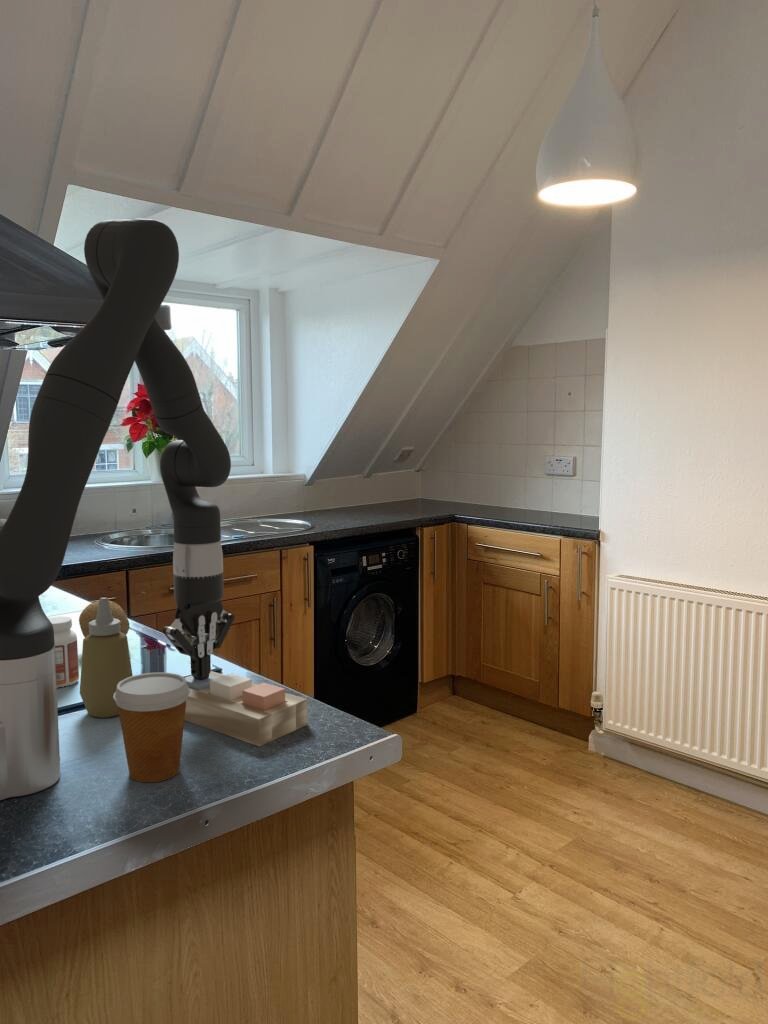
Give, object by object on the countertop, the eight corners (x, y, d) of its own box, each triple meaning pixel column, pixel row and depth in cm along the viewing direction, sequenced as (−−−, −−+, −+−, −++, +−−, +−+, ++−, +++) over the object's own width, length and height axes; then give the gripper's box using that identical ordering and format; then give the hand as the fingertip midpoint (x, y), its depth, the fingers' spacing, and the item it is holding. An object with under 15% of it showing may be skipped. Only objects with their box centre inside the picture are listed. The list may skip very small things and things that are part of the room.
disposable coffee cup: (149, 796, 101) (146, 701, 99) (100, 775, 106) (97, 685, 105) (207, 768, 109) (205, 680, 107) (159, 750, 114) (156, 666, 113)
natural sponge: (120, 641, 166) (118, 592, 165) (137, 651, 159) (135, 601, 158) (74, 649, 161) (72, 598, 160) (89, 660, 154) (87, 608, 153)
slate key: (199, 706, 127) (198, 684, 127) (180, 699, 130) (180, 679, 129) (220, 698, 131) (220, 677, 130) (202, 692, 133) (201, 671, 133)
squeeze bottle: (77, 707, 130) (72, 595, 128) (129, 699, 134) (126, 590, 131) (84, 725, 123) (79, 607, 121) (139, 716, 127) (136, 601, 124)
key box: (259, 746, 116) (258, 719, 115) (158, 711, 129) (158, 686, 128) (307, 724, 124) (307, 699, 123) (208, 693, 137) (207, 670, 136)
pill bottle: (68, 674, 146) (66, 613, 144) (85, 682, 142) (83, 619, 140) (33, 683, 141) (30, 619, 140) (50, 691, 137) (47, 626, 136)
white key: (230, 708, 123) (230, 686, 122) (210, 702, 125) (210, 680, 125) (252, 700, 126) (251, 679, 126) (232, 694, 129) (231, 673, 129)
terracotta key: (264, 719, 119) (263, 696, 118) (242, 712, 121) (242, 690, 121) (285, 710, 122) (285, 688, 122) (264, 704, 125) (263, 682, 124)
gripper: (180, 580, 120) (183, 695, 122) (246, 566, 131) (248, 672, 133) (147, 573, 125) (151, 684, 127) (214, 560, 135) (216, 663, 137)
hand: (201, 678), depth 130 cm, fingers closed
